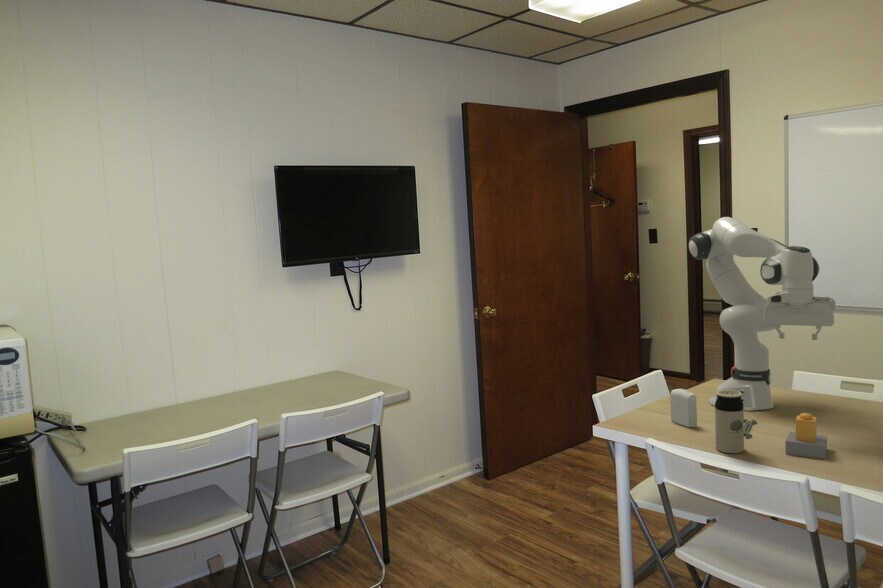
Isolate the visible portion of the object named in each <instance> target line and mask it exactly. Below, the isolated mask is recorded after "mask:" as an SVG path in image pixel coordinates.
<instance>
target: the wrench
mask: <svg viewBox="0 0 883 588" xmlns="http://www.w3.org/2000/svg"><path fill="white" fill-rule="evenodd" d="M744 423H745V424H744V437H745V439H747V440H748V439H751V438H752V437H753V434H752V433H750V430H751V428H752V425H756V424H758V421H757V420H755V419H752V420H748V418H746V419H745V418H744Z"/></svg>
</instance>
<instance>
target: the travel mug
mask: <svg viewBox="0 0 883 588" xmlns="http://www.w3.org/2000/svg"><path fill="white" fill-rule="evenodd" d="M715 394H716V395H717V400H716V402H715V406H714V415H715V416H714V422H715V423H714V426H715V428H714V429H715V449H716V450H717V451H720V452H721V453H725V454H739V453H740V454H741V453H742V452H744V451H745V436H744V425H745V424H744V419H745V417H744V410H743V402H742V401H741V396H742V393H741V392H738V391H733V390H720V391H717V392H716V391H715Z"/></svg>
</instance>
